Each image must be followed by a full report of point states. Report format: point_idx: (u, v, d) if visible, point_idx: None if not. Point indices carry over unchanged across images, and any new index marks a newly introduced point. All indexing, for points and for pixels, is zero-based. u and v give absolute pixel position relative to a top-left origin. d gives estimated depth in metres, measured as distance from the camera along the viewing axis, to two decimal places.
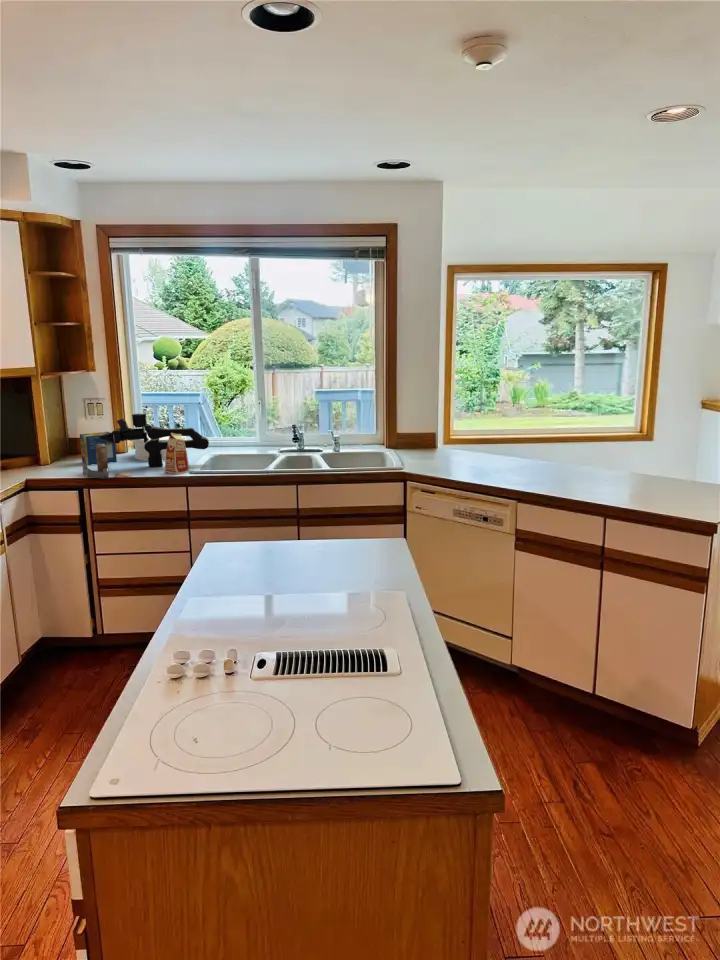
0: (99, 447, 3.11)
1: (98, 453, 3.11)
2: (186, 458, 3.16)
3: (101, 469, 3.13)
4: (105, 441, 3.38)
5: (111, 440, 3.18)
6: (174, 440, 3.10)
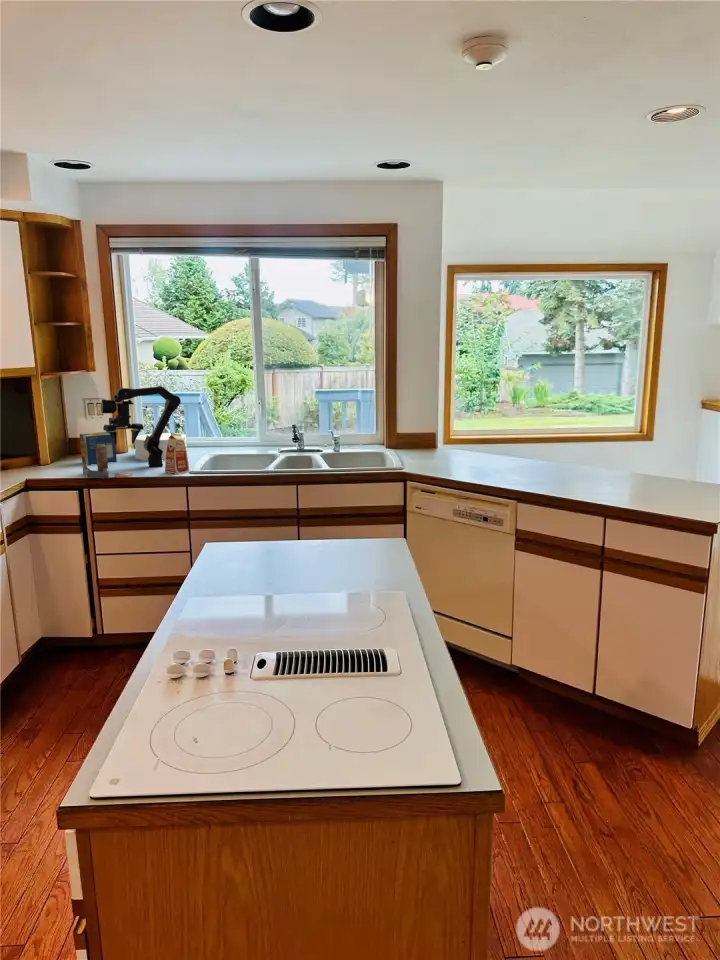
0: (99, 447, 3.11)
1: (98, 453, 3.11)
2: (186, 458, 3.16)
3: (101, 469, 3.13)
4: (105, 441, 3.38)
5: (113, 434, 3.15)
6: (174, 440, 3.10)
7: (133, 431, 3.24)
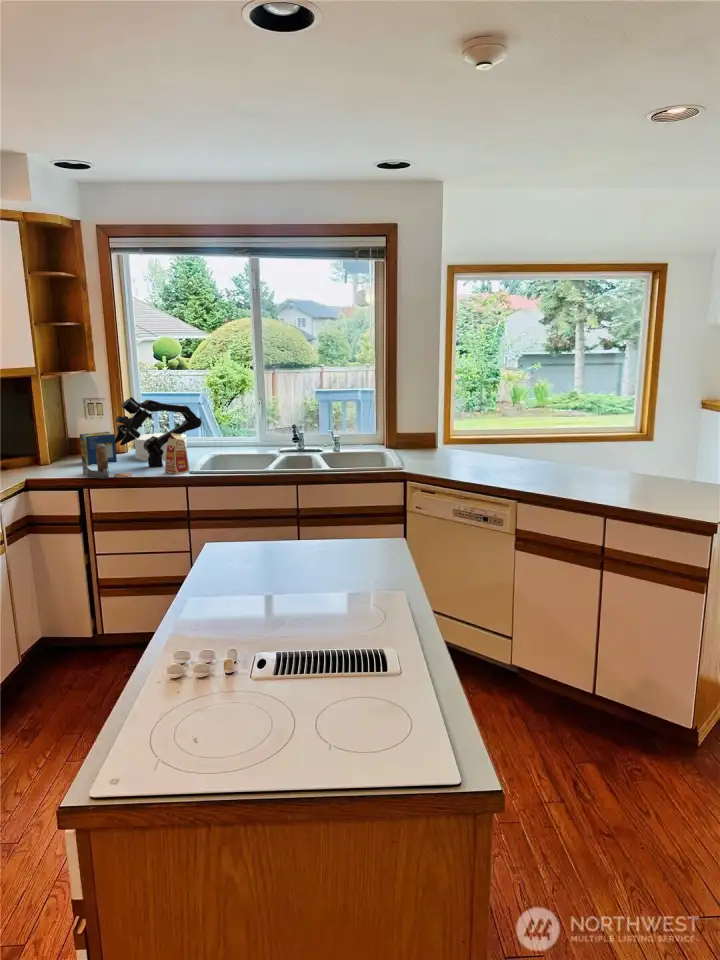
0: (99, 447, 3.11)
1: (98, 453, 3.11)
2: (186, 458, 3.16)
3: (101, 469, 3.13)
4: (105, 441, 3.38)
5: (131, 439, 3.15)
6: (174, 440, 3.10)
7: (122, 433, 3.23)
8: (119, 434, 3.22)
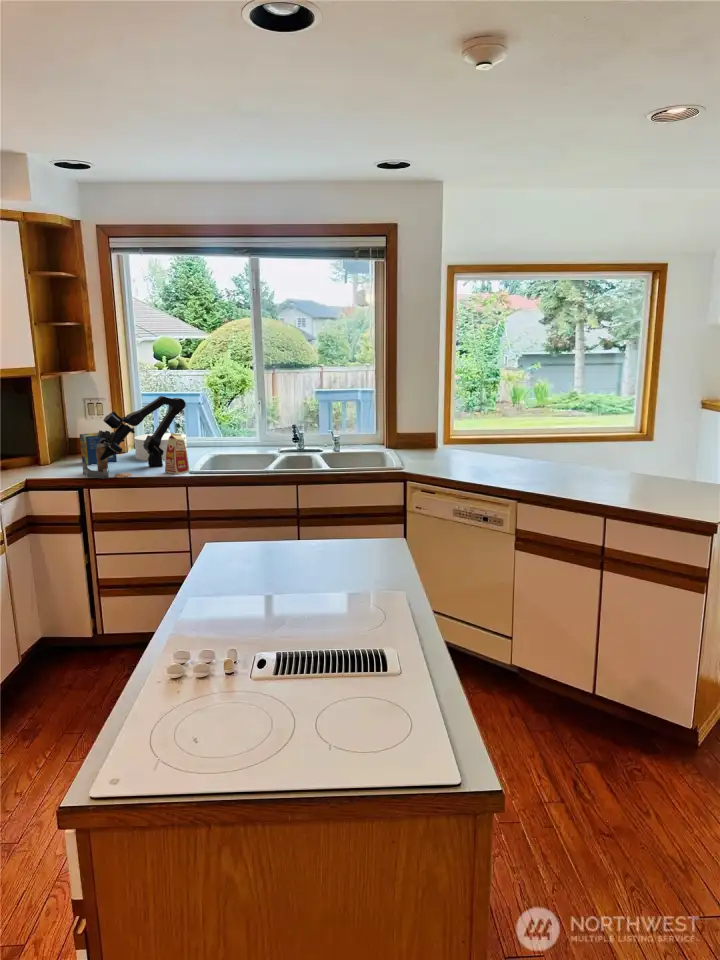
0: (99, 447, 3.11)
1: (98, 453, 3.11)
2: (186, 457, 3.16)
3: (101, 469, 3.13)
4: None
5: (112, 453, 3.12)
6: (174, 440, 3.10)
7: None
8: None
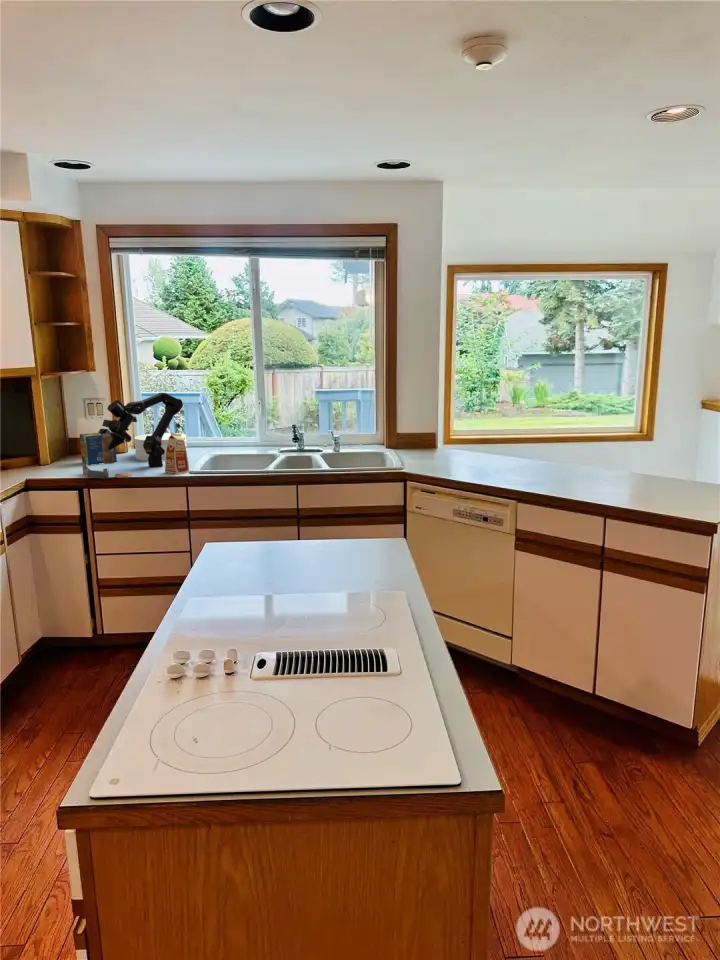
0: (106, 437, 3.04)
1: (105, 443, 3.04)
2: (186, 458, 3.16)
3: (109, 459, 3.06)
4: None
5: (119, 443, 3.07)
6: (174, 440, 3.10)
7: None
8: None
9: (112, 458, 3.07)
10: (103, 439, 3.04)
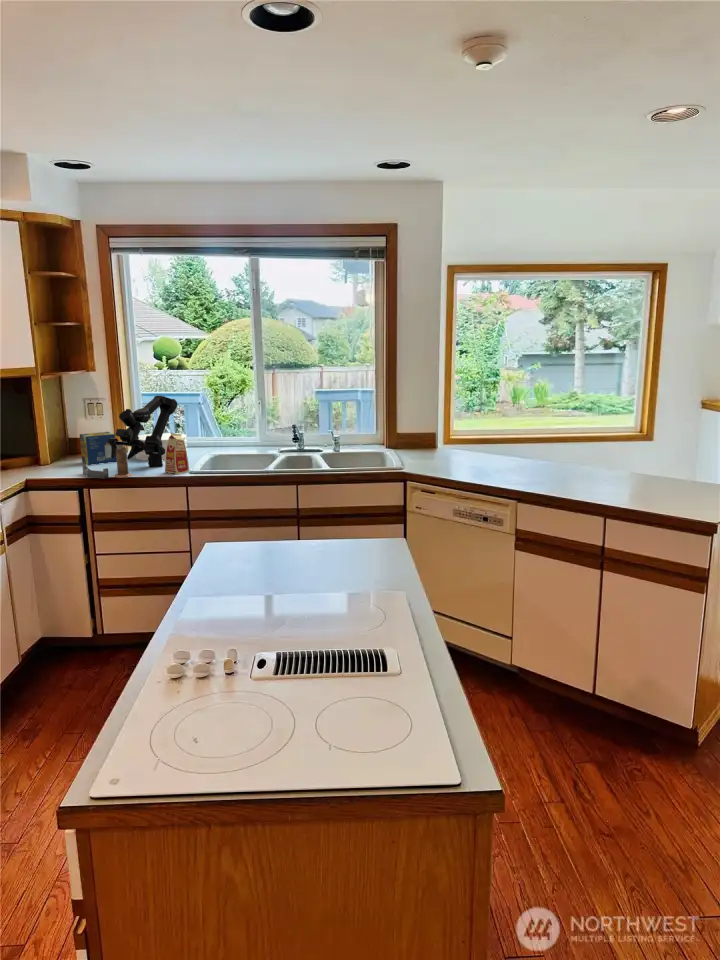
0: (121, 448, 3.03)
1: (121, 454, 3.03)
2: (186, 458, 3.16)
3: (124, 470, 3.05)
4: (105, 441, 3.38)
5: (137, 452, 3.06)
6: (174, 440, 3.10)
7: (116, 447, 3.09)
8: (114, 448, 3.07)
9: (127, 469, 3.06)
10: (119, 450, 3.02)
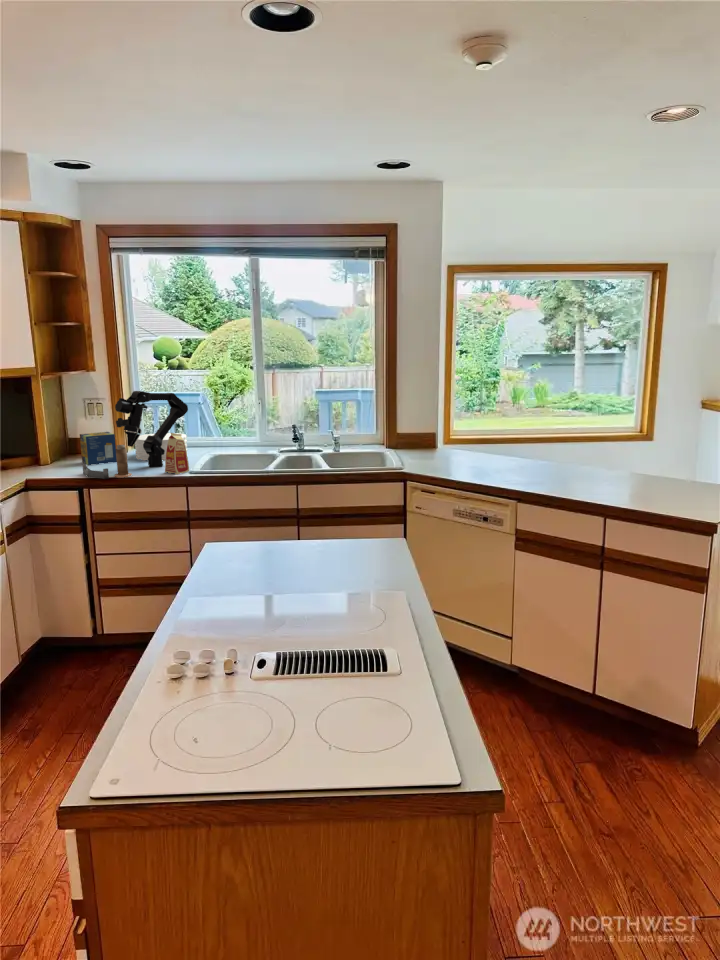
0: (121, 448, 3.03)
1: (121, 454, 3.03)
2: (186, 458, 3.16)
3: (124, 470, 3.05)
4: (105, 441, 3.38)
5: (134, 435, 3.12)
6: (174, 440, 3.10)
7: None
8: None
9: (127, 469, 3.06)
10: (118, 451, 3.02)
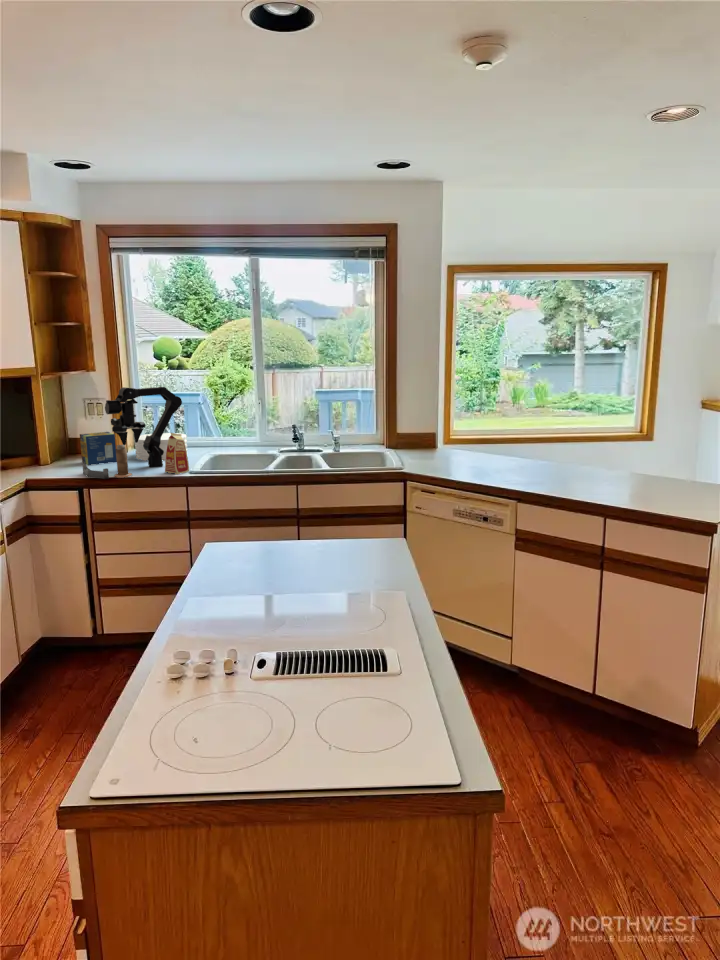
0: (121, 448, 3.03)
1: (121, 454, 3.03)
2: (186, 458, 3.16)
3: (124, 470, 3.05)
4: (105, 441, 3.38)
5: (124, 435, 3.13)
6: (174, 440, 3.10)
7: (135, 430, 3.24)
8: (134, 432, 3.25)
9: (127, 469, 3.06)
10: (118, 451, 3.02)
